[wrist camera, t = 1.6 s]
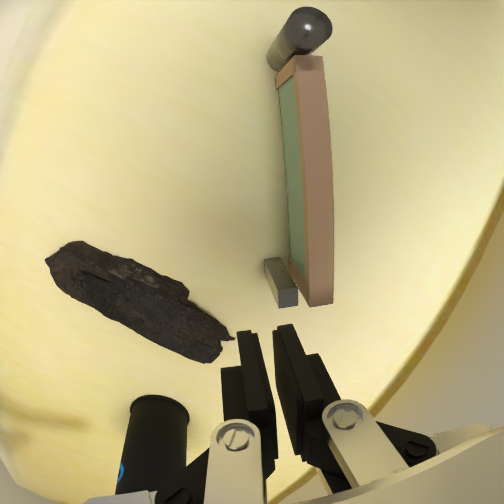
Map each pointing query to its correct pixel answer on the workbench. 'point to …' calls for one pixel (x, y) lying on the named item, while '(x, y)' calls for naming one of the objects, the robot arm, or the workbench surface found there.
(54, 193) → the workbench surface
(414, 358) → the workbench surface
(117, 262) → the wood
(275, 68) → the gate posts
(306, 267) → the gate
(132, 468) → the aerosol can
